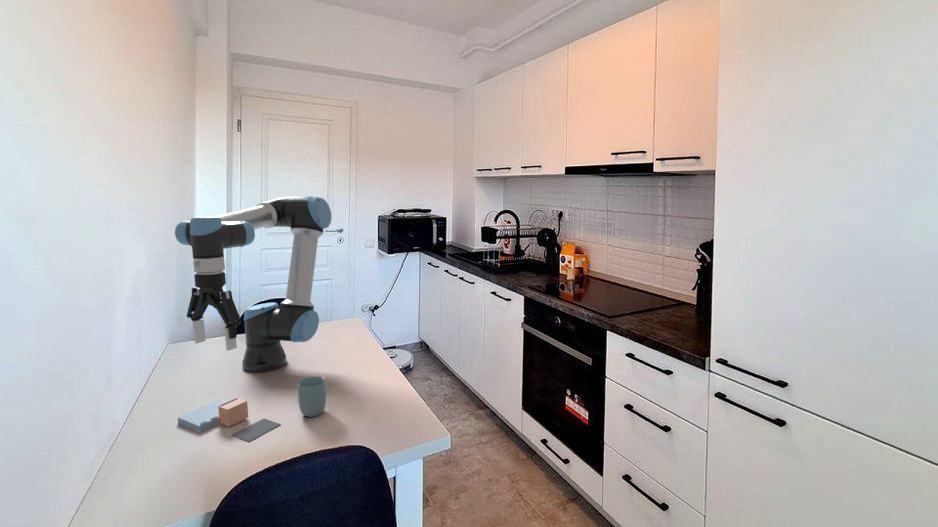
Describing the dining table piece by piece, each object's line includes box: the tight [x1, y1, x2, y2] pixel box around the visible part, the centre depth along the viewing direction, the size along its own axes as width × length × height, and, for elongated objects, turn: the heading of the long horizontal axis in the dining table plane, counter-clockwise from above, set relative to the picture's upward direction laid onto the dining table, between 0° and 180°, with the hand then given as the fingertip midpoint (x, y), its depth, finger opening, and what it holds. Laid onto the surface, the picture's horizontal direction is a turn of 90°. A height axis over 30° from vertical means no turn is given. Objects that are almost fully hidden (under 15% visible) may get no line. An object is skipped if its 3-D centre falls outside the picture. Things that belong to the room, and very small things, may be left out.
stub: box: [218, 397, 249, 427], centre depth 126 cm, size 4×6×5 cm, turn 153°
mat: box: [231, 418, 281, 443], centre depth 123 cm, size 7×10×1 cm
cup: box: [296, 375, 327, 418], centre depth 131 cm, size 8×8×10 cm
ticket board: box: [177, 400, 226, 433], centre depth 129 cm, size 10×12×2 cm
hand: (215, 345), depth 128 cm, fingers open, 13 cm apart
